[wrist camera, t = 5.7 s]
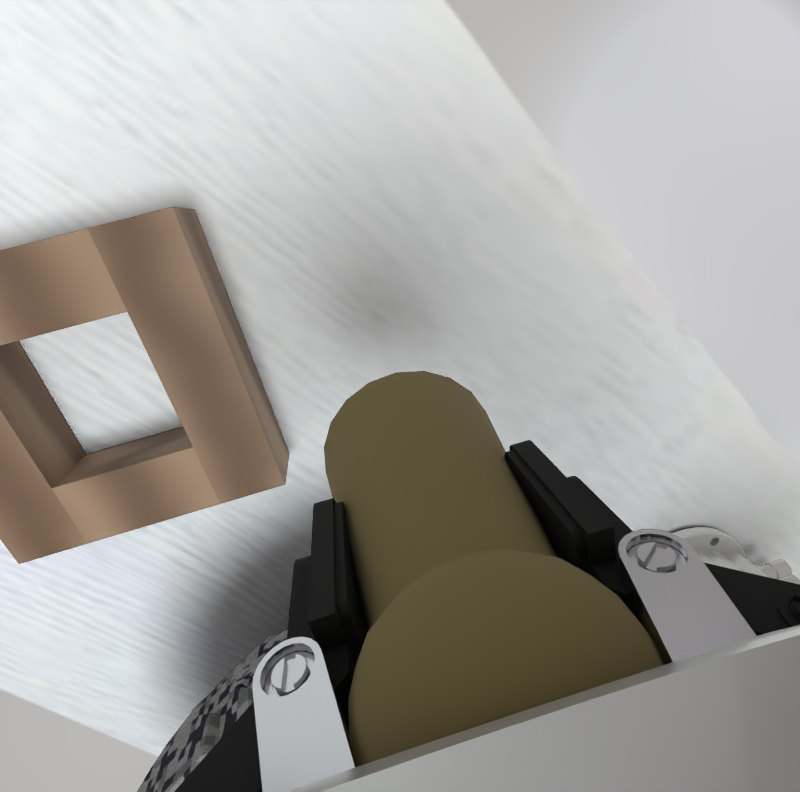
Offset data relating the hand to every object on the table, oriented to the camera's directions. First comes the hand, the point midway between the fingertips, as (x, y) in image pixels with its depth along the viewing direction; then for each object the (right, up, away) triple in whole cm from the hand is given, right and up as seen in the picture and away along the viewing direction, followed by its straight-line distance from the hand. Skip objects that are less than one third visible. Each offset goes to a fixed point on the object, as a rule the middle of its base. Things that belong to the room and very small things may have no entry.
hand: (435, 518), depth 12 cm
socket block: (-18, +4, +15) cm, 24 cm away
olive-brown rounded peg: (-1, +1, +4) cm, 4 cm away
